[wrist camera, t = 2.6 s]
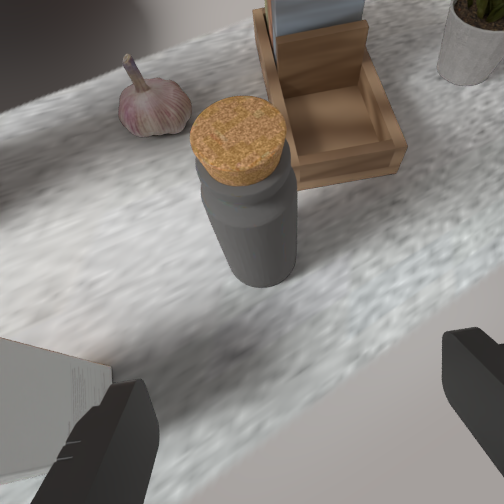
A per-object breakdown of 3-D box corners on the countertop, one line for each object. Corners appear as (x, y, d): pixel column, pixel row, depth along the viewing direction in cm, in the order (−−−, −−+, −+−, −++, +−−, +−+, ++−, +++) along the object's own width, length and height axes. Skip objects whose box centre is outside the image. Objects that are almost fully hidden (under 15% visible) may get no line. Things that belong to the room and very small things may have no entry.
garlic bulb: (113, 131, 39) (72, 66, 32) (159, 89, 41) (130, 19, 34) (162, 161, 36) (129, 98, 29) (208, 115, 38) (188, 45, 31)
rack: (396, 173, 33) (455, 33, 21) (288, 192, 33) (286, 65, 21) (338, 24, 42) (356, -130, 30) (255, 41, 42) (240, -106, 30)
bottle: (307, 273, 30) (319, 152, 16) (242, 299, 29) (197, 198, 16) (280, 217, 32) (270, 71, 18) (219, 240, 32) (164, 109, 18)
